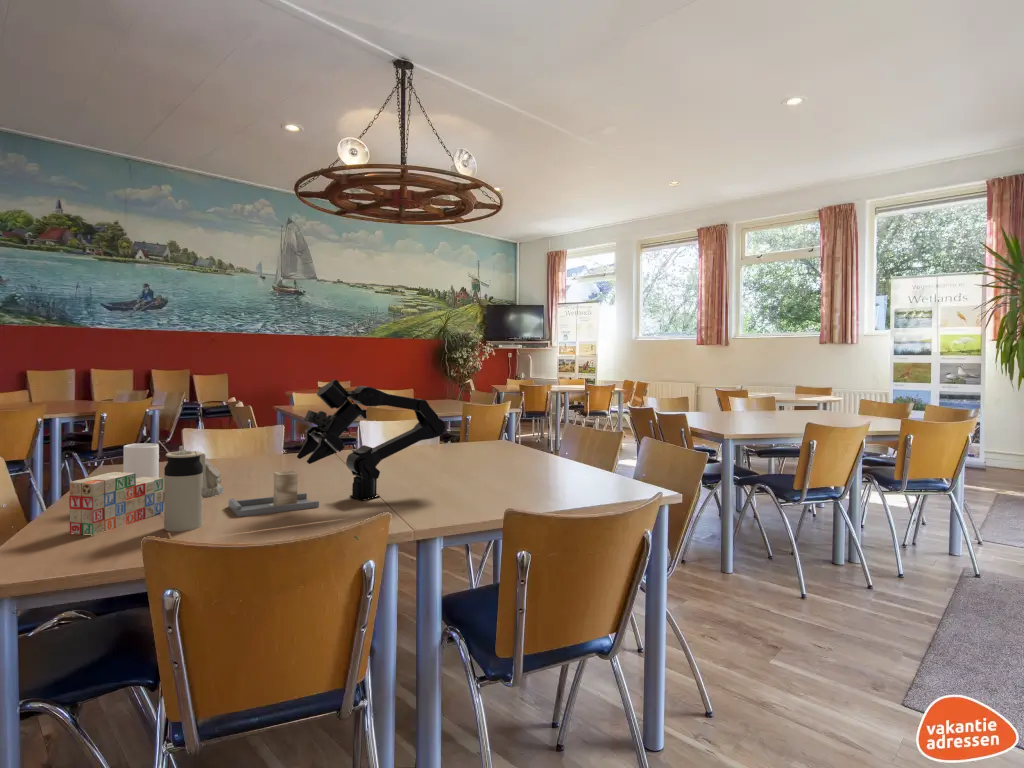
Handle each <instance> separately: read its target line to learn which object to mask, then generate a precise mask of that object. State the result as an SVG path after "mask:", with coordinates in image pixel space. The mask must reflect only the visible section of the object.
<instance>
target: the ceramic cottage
mask: <svg viewBox="0 0 1024 768" xmlns="http://www.w3.org/2000/svg"><path fill="white" fill-rule="evenodd" d="M178 451H187V450H186V449H184V446H183V445H180V446H179V447H178ZM201 453H202V454H201V456H200V462H201V464H202V465H203V498H211V497H210V496H214V497H216V496H215V495H218V496H220V495H219V494H221V493H223V492H225V491H224V490H225V489H224V487H223V486H222V485H221V482H222V479H221V477H220V476H221V475H222V472H221V471H220V470H219V469H217V468H216V467H215V465H213V464H212V462H211V461H210V460H209V458H208V457H207V456H206V453H203V452H201ZM223 494H224V493H223ZM221 495H222V494H221Z"/></svg>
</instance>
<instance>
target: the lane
mask: <svg viewBox="0 0 1024 768" xmlns="http://www.w3.org/2000/svg"><path fill="white" fill-rule="evenodd" d="M307 497H308V496H307V492H301V493H297V503H294V504H286V505H277V506H275V505H274V495H272V496H267V497H264V496H263V497H255V498H247V499H239V500H238V499H237V500H236V499H235V498H234V497H231V498H229V500H228V508H229V509H230V511H231V512H232V513H233V514H235V516H236V517H238V518H242V517H243V518H244V517H251V516H257V515H267V514H273V513H275V514H276V513H281V512H282V513H283V512H289V511H298V510H306V509H315V508H319V507H320V501H319V500H314V501H311V500H309V499H308V498H307Z"/></svg>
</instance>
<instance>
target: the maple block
mask: <svg viewBox="0 0 1024 768" xmlns="http://www.w3.org/2000/svg"><path fill="white" fill-rule="evenodd" d="M298 474H299V473H298V472H296V471H294V470H283V471H282V470H281V471H274V472H273V496H274V505H275V506H277V505H286V504H294V503H297V494H298V481H299V480H298V478H299V477H298V476H299V475H298Z"/></svg>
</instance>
